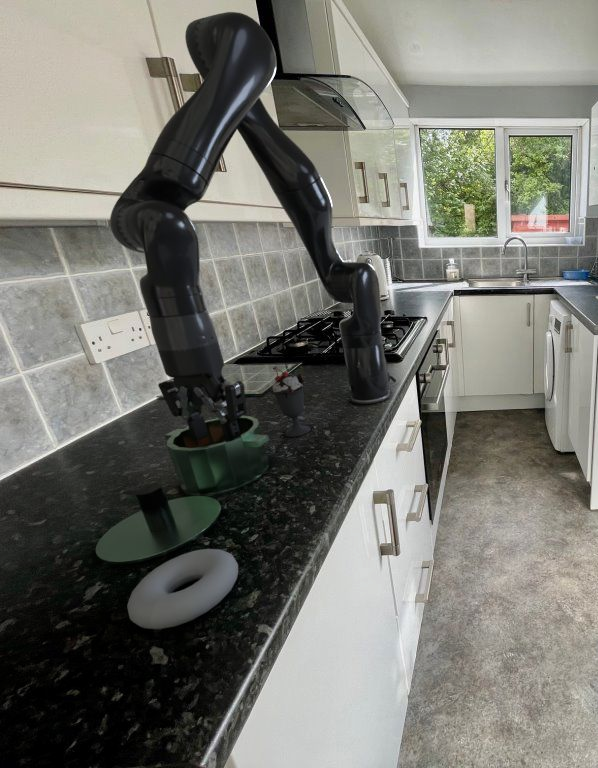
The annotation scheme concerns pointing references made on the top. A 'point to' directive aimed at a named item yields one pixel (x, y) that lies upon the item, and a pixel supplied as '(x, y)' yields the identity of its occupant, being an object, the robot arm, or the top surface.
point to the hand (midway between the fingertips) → (217, 439)
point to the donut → (167, 609)
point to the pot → (218, 458)
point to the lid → (157, 526)
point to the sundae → (290, 400)
